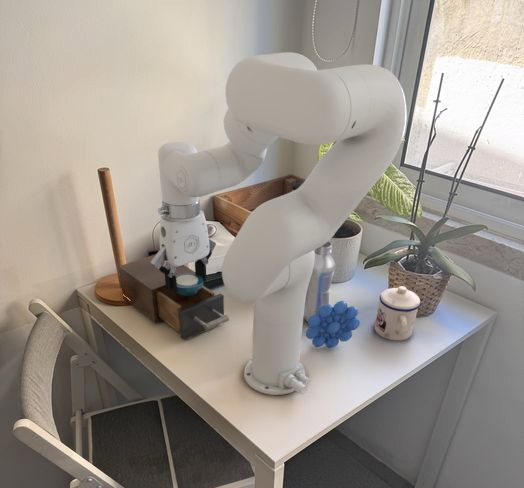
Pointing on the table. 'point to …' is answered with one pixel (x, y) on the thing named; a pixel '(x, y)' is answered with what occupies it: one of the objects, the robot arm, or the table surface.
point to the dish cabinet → (145, 284)
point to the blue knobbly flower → (332, 324)
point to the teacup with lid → (396, 313)
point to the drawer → (191, 310)
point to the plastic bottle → (319, 281)
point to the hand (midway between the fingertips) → (186, 284)
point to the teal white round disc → (188, 283)
